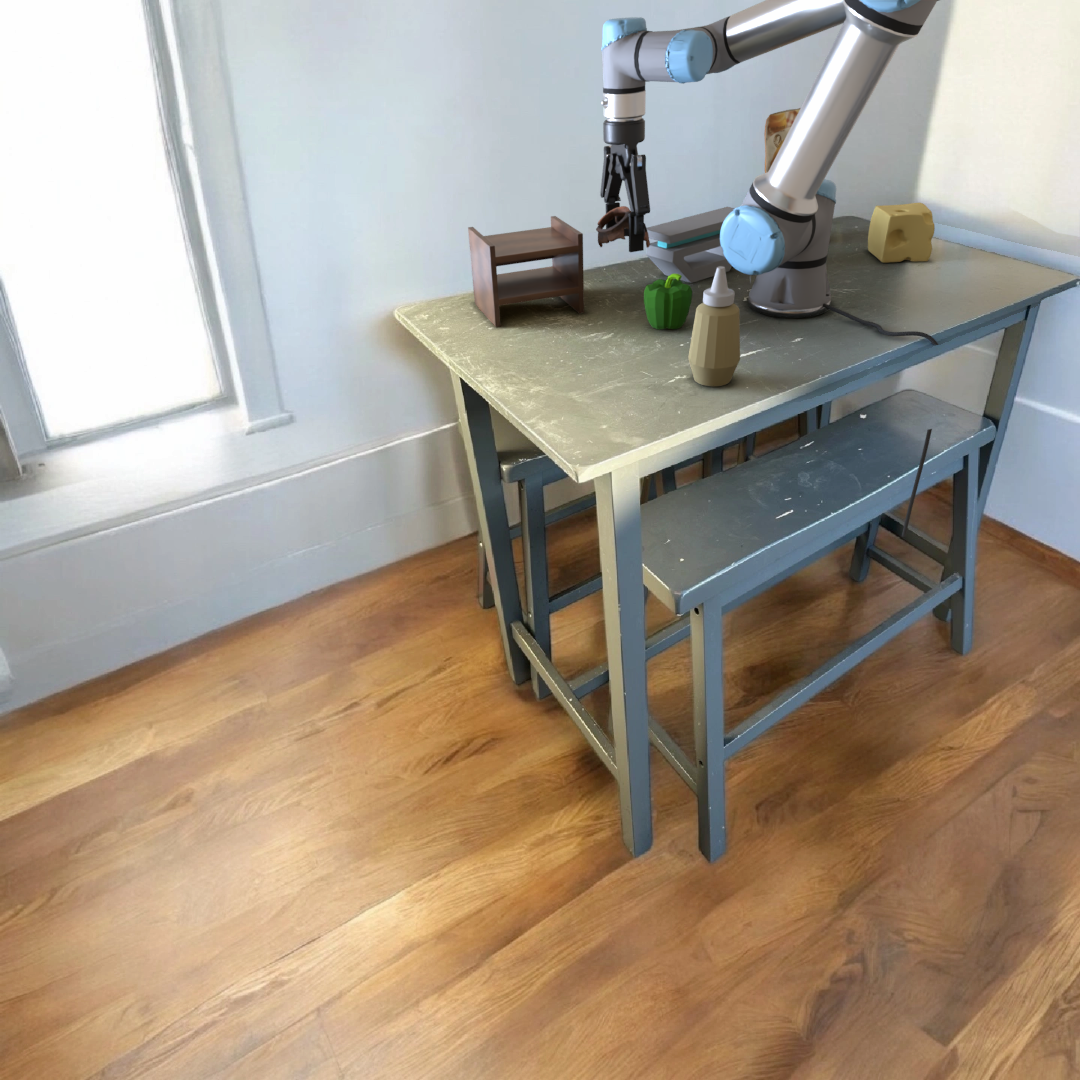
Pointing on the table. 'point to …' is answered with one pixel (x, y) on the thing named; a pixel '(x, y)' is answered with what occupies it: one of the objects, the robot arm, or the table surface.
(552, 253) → the shelf
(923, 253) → the cheese
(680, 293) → the bell pepper
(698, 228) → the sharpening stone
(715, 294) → the squeeze bottle
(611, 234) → the pottery mug
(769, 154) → the pancake mix bag
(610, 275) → the table surface
